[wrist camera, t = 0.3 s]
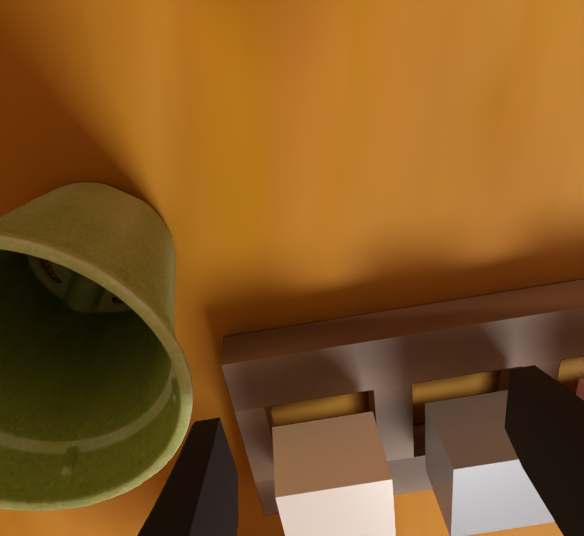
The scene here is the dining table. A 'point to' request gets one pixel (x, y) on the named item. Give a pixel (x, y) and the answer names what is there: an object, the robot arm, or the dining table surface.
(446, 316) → the brown flat board
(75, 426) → the plant pot
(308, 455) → the ivory key
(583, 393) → the brick key
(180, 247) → the dining table surface
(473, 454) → the slate key
